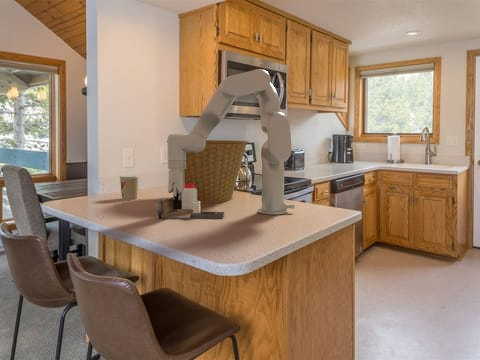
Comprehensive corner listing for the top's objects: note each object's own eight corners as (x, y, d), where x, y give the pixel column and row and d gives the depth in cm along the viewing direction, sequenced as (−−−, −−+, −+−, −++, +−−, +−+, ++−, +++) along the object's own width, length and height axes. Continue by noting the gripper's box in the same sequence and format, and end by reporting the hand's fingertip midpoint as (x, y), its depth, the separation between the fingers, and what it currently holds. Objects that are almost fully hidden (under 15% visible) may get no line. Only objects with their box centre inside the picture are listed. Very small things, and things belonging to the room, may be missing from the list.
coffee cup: (120, 197, 201) (119, 175, 200) (138, 197, 204) (138, 174, 203) (120, 200, 193) (119, 176, 191) (139, 199, 195) (139, 176, 194)
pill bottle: (194, 209, 171) (193, 185, 169) (177, 209, 172) (177, 184, 171) (199, 206, 178) (199, 183, 177) (183, 205, 180) (183, 182, 178)
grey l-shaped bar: (187, 218, 153) (187, 200, 152) (186, 219, 151) (186, 200, 151) (158, 218, 154) (158, 199, 153) (157, 218, 152) (157, 200, 151)
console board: (224, 215, 159) (224, 211, 159) (222, 218, 153) (222, 214, 153) (193, 214, 160) (193, 211, 160) (190, 217, 154) (190, 214, 154)
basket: (151, 201, 191) (149, 140, 187) (193, 190, 229) (193, 139, 225) (228, 208, 174) (228, 142, 171) (259, 195, 213) (260, 140, 209)
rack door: (175, 211, 162) (175, 197, 162) (178, 211, 162) (177, 197, 161) (161, 215, 154) (160, 200, 154) (163, 215, 154) (163, 200, 153)
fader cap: (200, 211, 158) (200, 200, 158) (198, 213, 155) (198, 202, 154) (194, 211, 159) (194, 200, 158) (192, 213, 155) (192, 202, 154)
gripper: (172, 163, 164) (172, 205, 166) (163, 166, 149) (164, 212, 151) (189, 163, 163) (190, 206, 166) (182, 166, 149) (182, 213, 151)
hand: (177, 209), depth 158 cm, fingers closed
